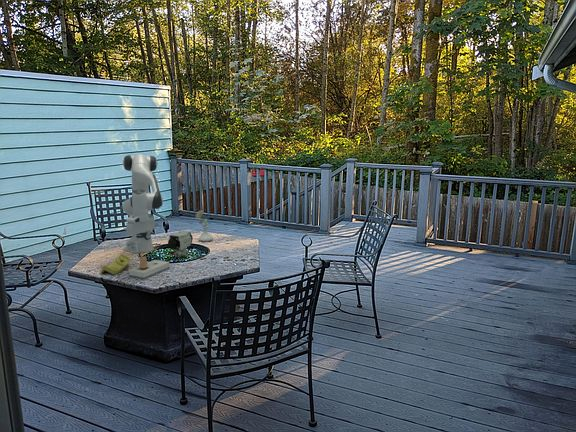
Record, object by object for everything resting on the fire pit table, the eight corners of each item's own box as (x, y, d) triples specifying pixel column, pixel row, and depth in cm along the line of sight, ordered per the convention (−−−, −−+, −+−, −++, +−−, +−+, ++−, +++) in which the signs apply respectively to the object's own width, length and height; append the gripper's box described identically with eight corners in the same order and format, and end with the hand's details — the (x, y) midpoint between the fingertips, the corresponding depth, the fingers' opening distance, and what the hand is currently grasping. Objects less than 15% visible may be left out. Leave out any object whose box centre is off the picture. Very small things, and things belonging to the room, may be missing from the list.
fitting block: (143, 279, 253) (143, 272, 252) (129, 276, 259) (128, 269, 258) (169, 268, 273) (169, 262, 272) (155, 265, 278) (154, 259, 277)
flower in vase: (208, 238, 346) (207, 207, 341) (215, 240, 338) (214, 209, 332) (193, 240, 338) (192, 209, 333) (200, 243, 329) (199, 211, 324)
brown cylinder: (139, 273, 260) (138, 257, 258) (144, 271, 264) (143, 255, 262) (143, 274, 258) (142, 258, 256) (148, 272, 262) (147, 256, 260)
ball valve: (178, 260, 288) (176, 235, 285) (168, 259, 292) (166, 233, 288) (195, 253, 304) (194, 229, 300) (185, 252, 308) (184, 228, 304)
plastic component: (116, 271, 260) (102, 264, 261) (113, 281, 263) (98, 274, 263) (133, 259, 279) (119, 252, 279) (129, 268, 282) (116, 261, 282)
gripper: (149, 213, 267) (151, 234, 270) (123, 219, 249) (125, 242, 252) (157, 214, 264) (158, 236, 267) (131, 220, 247) (133, 244, 250)
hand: (142, 239), depth 260 cm, fingers open, 8 cm apart
